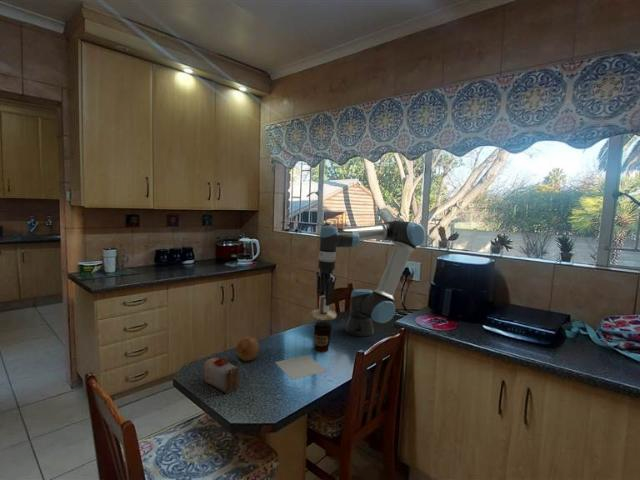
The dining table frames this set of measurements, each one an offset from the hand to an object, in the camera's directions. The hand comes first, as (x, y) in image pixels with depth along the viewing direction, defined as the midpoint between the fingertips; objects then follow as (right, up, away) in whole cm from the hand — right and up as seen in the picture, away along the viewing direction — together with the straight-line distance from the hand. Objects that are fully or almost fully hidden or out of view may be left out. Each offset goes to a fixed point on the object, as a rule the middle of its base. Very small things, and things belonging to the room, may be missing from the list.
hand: (323, 310), depth 159 cm
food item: (-38, -21, -32) cm, 54 cm away
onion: (-33, -19, -11) cm, 39 cm away
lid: (0, -2, 0) cm, 2 cm away
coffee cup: (-1, -19, +2) cm, 19 cm away
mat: (-10, -20, -16) cm, 28 cm away
